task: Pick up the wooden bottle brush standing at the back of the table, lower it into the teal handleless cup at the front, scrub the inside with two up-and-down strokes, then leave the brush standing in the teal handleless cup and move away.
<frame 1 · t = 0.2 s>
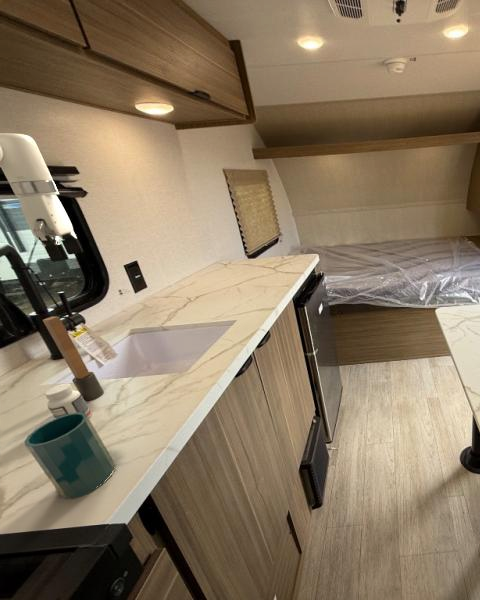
hand: (68, 256, 85), 32 cm above the worktop, tool pointing down, fingers open, 9 cm apart
pill bottle: (77, 420, 72), on the worktop
brush: (93, 396, 81), on the worktop
teal handleless cup: (89, 479, 57), on the worktop
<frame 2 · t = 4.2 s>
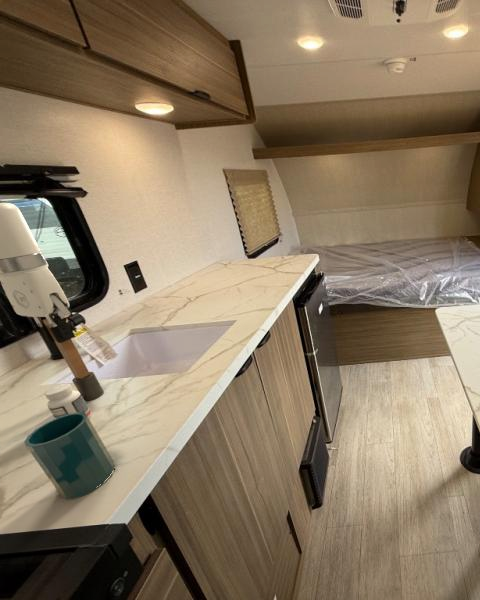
hand: (62, 339, 74), 17 cm above the worktop, tool pointing down, fingers closed on brush, 2 cm apart
brush: (93, 396, 81), on the worktop, touching gripper
everything else where it was.
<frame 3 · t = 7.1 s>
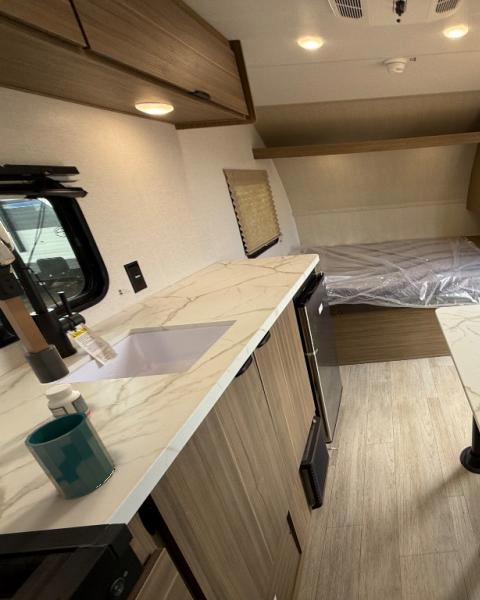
hand: (6, 296, 54), 32 cm above the worktop, tool pointing down, fingers closed on brush
brush: (55, 377, 60), point 16 cm above the worktop, touching gripper
everything else where it was.
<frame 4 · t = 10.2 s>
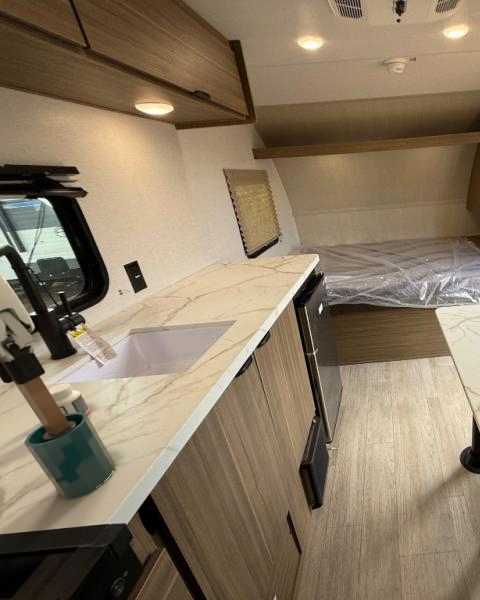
hand: (25, 377, 49), 22 cm above the worktop, tool pointing down, fingers closed on brush
brush: (76, 456, 55), point 6 cm above the worktop, touching gripper
everything else where it was.
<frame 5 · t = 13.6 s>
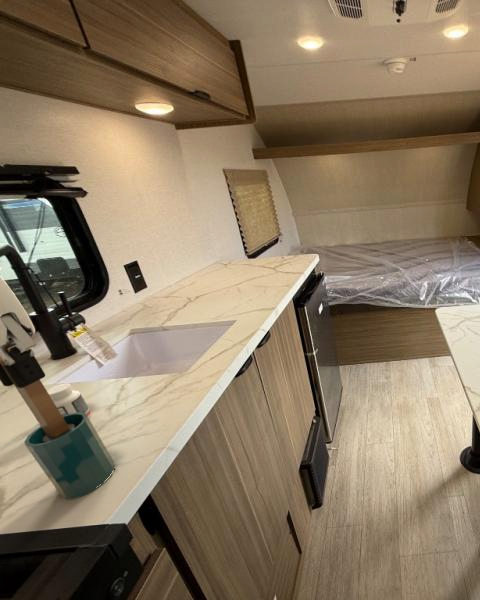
hand: (25, 380, 49), 22 cm above the worktop, tool pointing down, fingers closed on brush
brush: (75, 458, 55), point 5 cm above the worktop, touching gripper
everything else where it was.
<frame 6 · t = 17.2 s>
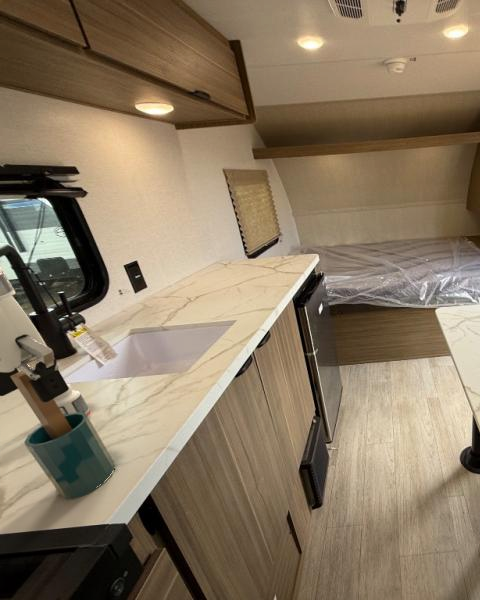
hand: (34, 393, 50), 19 cm above the worktop, tool pointing down, fingers open, 9 cm apart
brush: (88, 474, 57), point 1 cm above the worktop, touching teal handleless cup
everything else where it was.
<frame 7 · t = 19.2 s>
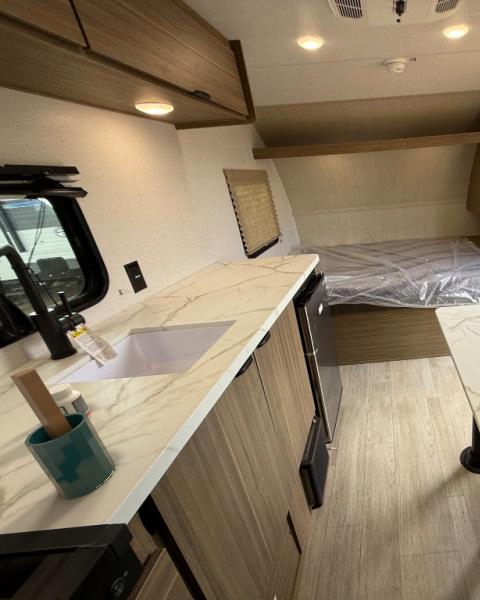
nothing on the worktop moved.
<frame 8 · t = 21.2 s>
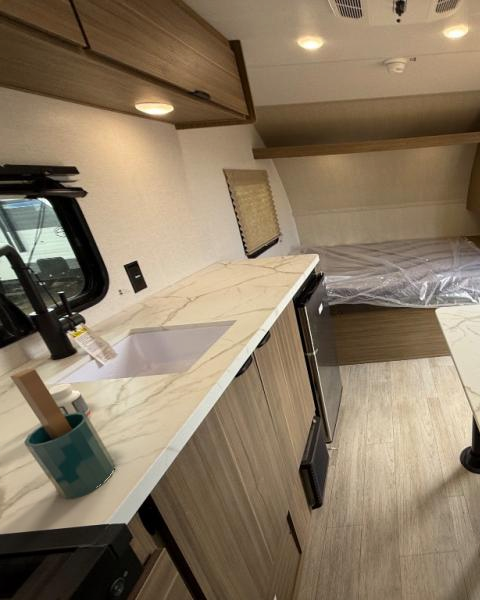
nothing on the worktop moved.
at the end: brush 0.1 cm off-centre in the teal handleless cup, point 1.0 cm above the teal handleless cup's base; brush tilted 0°; the gripper is holding nothing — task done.
